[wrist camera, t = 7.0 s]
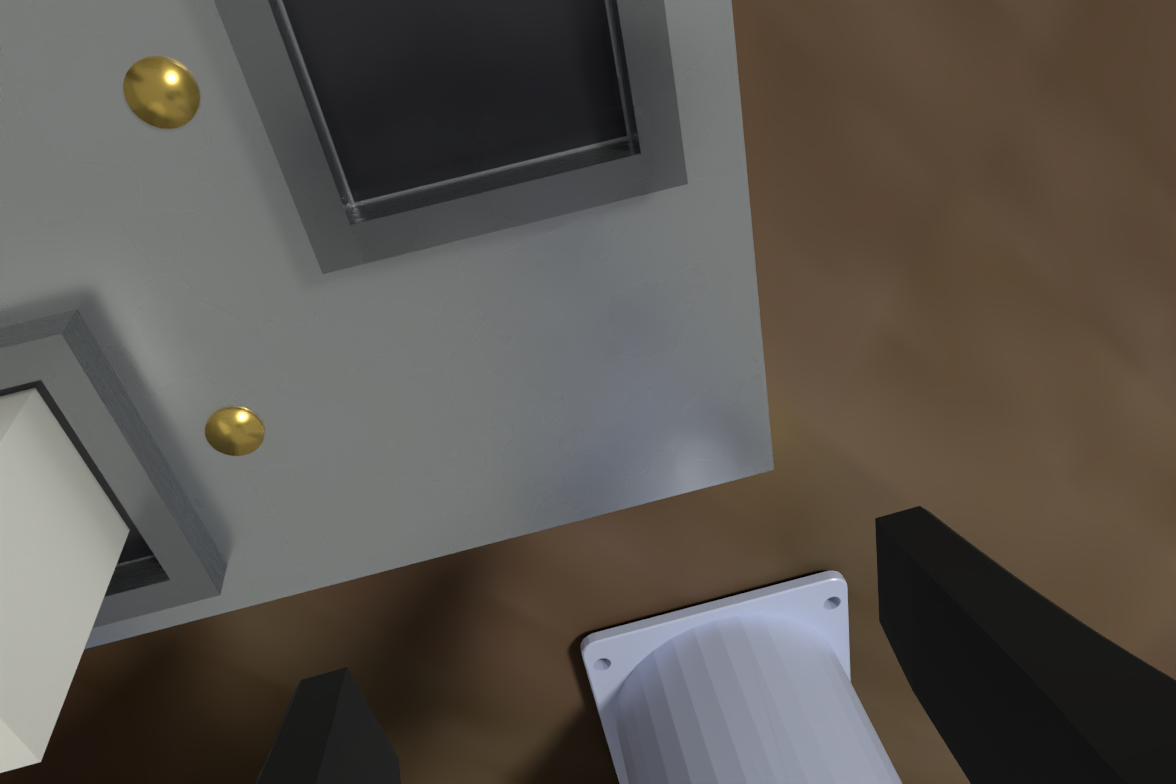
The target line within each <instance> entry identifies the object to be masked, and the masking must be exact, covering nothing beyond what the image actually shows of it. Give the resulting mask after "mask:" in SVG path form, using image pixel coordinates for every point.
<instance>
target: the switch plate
mask: <svg viewBox="0 0 1176 784" xmlns="http://www.w3.org/2000/svg"><path fill="white" fill-rule="evenodd" d="M31 388H36V390H37V391H38V393H39V394H40V396H41V397H42V399H43V400H44V402H45V403H46V405H47V406H48V408H49V409H50V411H51V412H52V414H53V415H54V417H55V418H56V420H57V421H58V423H59V424H60V426H61V427H62V429H63V430H64V432H65V433H66V435H67V436H68V438H69V439H70V441H71V442H72V444H73V445H74V447H75V448H76V450H77V451H78V453H79V454H80V456H81V457H82V459H83V460H84V462H85V463H86V465H87V466H88V468H89V469H90V471H91V472H92V474H93V475H94V477H95V478H96V480H97V481H98V483H99V484H100V486H101V487H102V489H103V491H104V492H105V494H106V495H107V497H108V498H109V500H110V501H111V503H112V504H113V506H114V507H115V509H116V510H117V512H118V513H119V515H120V516H121V518H122V519H123V521H124V522H125V524H126V525H127V527H128V528H129V530H130V531H129V533H128V536H127V538H126V541H125V544H124V546H123V549H122V552H121V554H120V557H119V559H118V562H117V565H116V567H115V570H114V572H113V575H112V578H111V580H110V583H109V585H108V588H107V591H106V593H105V596H104V598H103V601H102V604H101V606H100V609H99V611H98V614H97V617H96V619H95V622H94V625H93V627H92V630H91V632H90V635H89V638H88V640H87V643H86V645H85V648H84V649H87V648H91V647H95V646H99V645H103V644H106V643H110V642H114V641H118V640H122V639H126V638H129V637H133V636H137V635H141V634H145V633H149V632H153V631H156V630H160V629H164V628H168V627H172V626H176V625H179V624H183V623H187V622H191V621H195V620H199V619H202V618H206V617H210V616H214V615H218V614H222V613H226V612H229V611H233V610H237V609H241V608H245V607H249V606H252V605H256V604H260V603H264V602H268V601H272V600H275V599H279V598H283V597H287V596H291V595H295V594H299V593H302V592H306V591H310V590H314V589H318V588H322V587H325V586H329V585H333V584H337V583H341V582H345V581H348V580H352V579H356V578H360V577H364V576H368V575H372V574H375V573H379V572H383V571H387V570H391V569H395V568H398V567H402V566H406V565H410V564H414V563H418V562H421V561H425V560H429V559H433V558H437V557H441V556H445V555H448V554H452V553H456V552H460V551H464V550H468V549H471V548H475V547H479V546H483V545H487V544H491V543H494V542H498V541H502V540H506V539H510V538H514V537H518V536H521V535H525V534H529V533H533V532H537V531H541V530H544V529H548V528H552V527H556V526H560V525H564V524H567V523H571V522H575V521H579V520H583V519H587V518H591V517H594V516H598V515H602V514H606V513H610V512H614V511H617V510H621V509H625V508H629V507H633V506H637V505H640V504H644V503H648V502H652V501H656V500H660V499H664V498H667V497H671V496H675V495H679V494H683V493H687V492H690V491H694V490H698V489H702V488H706V487H710V486H713V485H717V484H721V483H725V482H729V481H733V480H737V479H740V478H744V477H748V476H752V475H756V474H760V473H763V472H767V471H771V470H774V466H773V455H772V443H771V432H770V421H769V410H768V399H767V388H766V377H765V366H764V355H763V344H762V333H761V322H760V311H759V300H758V289H757V278H756V266H755V255H754V244H753V233H752V222H751V211H750V200H749V189H748V178H747V167H746V156H745V145H744V134H743V123H742V112H741V101H740V89H739V78H738V67H737V56H736V45H735V34H734V23H733V12H732V1H731V0H0V396H4V395H8V394H12V393H16V392H20V391H24V390H28V389H31Z"/></svg>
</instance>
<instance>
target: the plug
mask: <svg viewBox="0 0 1176 784" xmlns="http://www.w3.org/2000/svg"><path fill="white" fill-rule="evenodd" d="M129 531H130V530H129V528H128V527H127V525H126V524H125V522H124V521H123V519H122V518H121V516H120V515H119V513H118V512H117V510H116V509H115V507H114V506H113V504H112V503H111V501H110V500H109V498H108V497H107V495H106V494H105V492H104V491H103V489H102V487H101V486H100V484H99V483H98V481H97V480H96V478H95V477H94V475H93V474H92V472H91V471H90V469H89V468H88V466H87V465H86V463H85V462H84V460H83V459H82V457H81V456H80V454H79V453H78V451H77V450H76V448H75V447H74V445H73V444H72V442H71V441H70V439H69V438H68V436H67V435H66V433H65V432H64V430H63V429H62V427H61V426H60V424H59V423H58V421H57V420H56V418H55V417H54V415H53V414H52V412H51V411H50V409H49V408H48V406H47V405H46V403H45V402H44V400H43V399H42V397H41V396H40V394H39V393H38V391H37V390H36V388H31V389H28V390H24V391H20V392H16V393H12V394H8V395H4V396H0V773H2V772H6V771H9V770H13V769H17V768H21V767H24V766H28V765H32V764H35V763H39V762H41V760H42V758H43V755H44V752H45V750H46V747H47V744H48V742H49V739H50V737H51V734H52V731H53V729H54V726H55V724H56V721H57V718H58V716H59V713H60V711H61V708H62V705H63V703H64V700H65V698H66V695H67V692H68V690H69V687H70V685H71V682H72V679H73V677H74V674H75V671H76V669H77V666H78V664H79V661H80V658H81V656H82V653H83V651H84V648H85V645H86V643H87V640H88V638H89V635H90V632H91V630H92V627H93V625H94V622H95V619H96V617H97V614H98V611H99V609H100V606H101V604H102V601H103V598H104V596H105V593H106V591H107V588H108V585H109V583H110V580H111V578H112V575H113V572H114V570H115V567H116V565H117V562H118V559H119V557H120V554H121V552H122V549H123V546H124V544H125V541H126V538H127V536H128V533H129Z"/></svg>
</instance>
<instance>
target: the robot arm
mask: <svg viewBox="0 0 1176 784" xmlns="http://www.w3.org/2000/svg"><path fill="white" fill-rule="evenodd" d="M875 521H876V546H877V570H878V595H879V620H880V623H881V625H882V627H883V630H884V632H885V634H886V636H887V638H888V640H889V642H890V645H891V647H892V649H893V651H894V653H895V655H896V657H897V659H898V661H899V664H900V666H901V668H902V670H903V672H904V674H905V676H906V678H907V680H908V682H909V684H910V686H911V688H912V690H913V692H914V693H915V695H916V697H917V698H918V700H919V701H920V703H921V705H922V706H923V708H924V710H925V711H926V713H927V714H928V716H929V718H930V719H931V721H932V722H933V724H934V726H935V727H936V729H937V730H938V732H939V734H940V735H941V737H942V738H943V740H944V742H945V743H946V745H947V746H948V748H949V750H950V751H951V753H952V754H953V756H954V758H955V759H956V761H957V762H958V764H959V765H960V767H961V769H962V770H963V772H964V773H965V775H966V777H967V778H968V780H969V781H970V783H971V784H1176V680H1175V679H1173V678H1171V677H1169V676H1168V675H1166V674H1164V673H1163V672H1161V671H1159V670H1157V669H1156V668H1154V667H1152V666H1151V665H1149V664H1147V663H1146V662H1144V661H1142V660H1141V659H1139V658H1138V657H1136V656H1134V655H1133V654H1131V653H1129V652H1128V651H1126V650H1125V649H1123V648H1121V647H1120V646H1118V645H1117V644H1115V643H1113V642H1112V641H1110V640H1108V639H1107V638H1105V637H1104V636H1102V635H1101V634H1099V633H1098V632H1096V631H1094V630H1093V629H1091V628H1090V627H1088V626H1087V625H1085V624H1084V623H1082V622H1081V621H1079V620H1078V619H1076V618H1075V617H1073V616H1072V615H1070V614H1069V613H1067V612H1066V611H1064V610H1063V609H1061V608H1060V607H1059V606H1057V605H1056V604H1054V603H1053V602H1051V601H1050V600H1048V599H1047V598H1045V597H1044V596H1042V595H1041V594H1040V593H1038V592H1037V591H1035V590H1034V589H1032V588H1031V587H1029V586H1028V585H1027V584H1025V583H1024V582H1022V581H1021V580H1020V579H1018V578H1017V577H1015V576H1014V575H1013V574H1011V573H1010V572H1008V571H1007V570H1006V569H1004V568H1003V567H1002V566H1000V565H999V564H997V563H996V562H995V561H993V560H992V559H991V558H989V557H988V556H987V555H985V554H984V553H983V552H981V551H980V550H979V549H977V548H976V547H975V546H973V545H972V544H971V543H969V542H968V541H967V540H965V539H964V538H963V537H961V536H960V535H959V534H957V533H956V532H955V531H953V530H952V529H951V528H950V527H948V526H947V525H946V524H944V523H943V522H942V521H940V520H939V519H938V518H937V517H935V516H934V515H933V514H931V513H930V512H929V511H927V510H926V509H924V508H922V507H920V506H918V507H914V508H911V509H907V510H904V511H900V512H897V513H893V514H890V515H886V516H882V517H879V518H875ZM831 597H832V598H831ZM829 598H830V599H829ZM580 649H581V654H582V658H583V661H584V665H585V668H586V671H587V675H588V678H589V682H590V685H591V688H592V692H593V695H594V699H595V702H596V706H597V709H598V712H599V716H600V719H601V723H602V726H603V729H604V733H605V736H606V740H607V743H608V746H609V750H610V753H611V757H612V760H613V763H614V767H615V770H616V774H617V777H618V780H619V784H902V782H901V780H900V778H899V776H898V774H897V773H896V771H895V769H894V767H893V765H892V763H891V761H890V759H889V757H888V755H887V753H886V751H885V749H884V747H883V745H882V743H881V741H880V739H879V737H878V735H877V733H876V731H875V729H874V727H873V725H872V723H871V722H870V720H869V718H868V716H867V714H866V712H865V710H864V708H863V706H862V704H861V702H860V700H859V698H858V696H857V694H856V692H855V690H854V688H853V686H852V684H851V682H850V652H849V622H848V591H847V584H846V581H845V579H844V578H843V576H842V574H840V573H839V572H837V571H825V572H821V573H817V574H814V575H810V576H806V577H802V578H799V579H795V580H791V581H787V582H784V583H780V584H776V585H772V586H768V587H765V588H761V589H757V590H753V591H750V592H746V593H742V594H738V595H734V596H731V597H727V598H723V599H719V600H716V601H712V602H708V603H704V604H701V605H697V606H693V607H689V608H685V609H682V610H678V611H674V612H670V613H667V614H663V615H659V616H655V617H652V618H648V619H644V620H640V621H636V622H633V623H629V624H625V625H621V626H618V627H614V628H610V629H606V630H602V631H599V632H595V633H592V634H590V635H588V636H587V637H585V638H584V639H583V640H582V642H581V644H580ZM602 658H604V659H602ZM599 659H602V660H599ZM255 784H401V782H400V771H399V759H398V756H397V755H396V753H395V751H394V749H393V748H392V746H391V744H390V742H389V741H388V739H387V737H386V735H385V734H384V732H383V730H382V728H381V727H380V725H379V723H378V721H377V720H376V718H375V716H374V714H373V713H372V711H371V709H370V707H369V706H368V704H367V702H366V700H365V699H364V697H363V695H362V693H361V692H360V690H359V688H358V686H357V684H356V683H355V681H354V679H353V677H352V676H351V674H350V672H349V670H348V669H347V667H346V668H343V669H339V670H336V671H332V672H329V673H325V674H321V675H318V676H314V677H311V678H307V679H304V680H301V682H300V683H299V685H298V687H297V688H296V690H295V693H294V695H293V697H292V700H291V702H290V704H289V707H288V709H287V711H286V714H285V716H284V718H283V721H282V723H281V725H280V728H279V730H278V732H277V735H276V737H275V739H274V742H273V744H272V746H271V748H270V751H269V753H268V755H267V758H266V760H265V762H264V764H263V766H262V769H261V771H260V773H259V775H258V778H257V780H256V782H255Z"/></svg>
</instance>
